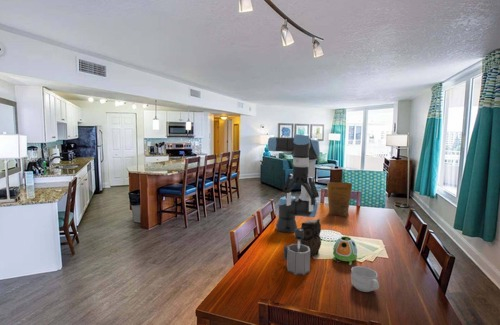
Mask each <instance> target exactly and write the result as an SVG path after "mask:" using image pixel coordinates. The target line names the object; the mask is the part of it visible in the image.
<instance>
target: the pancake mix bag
mask: <svg viewBox="0 0 500 325" xmlns="http://www.w3.org/2000/svg"><path fill="white" fill-rule="evenodd" d="M326 185H327V201H328V203H327V205H328V214H329V215H332V216H333V215H334V216H340V217H349V216H350V215H349V208H350V200H351V195H352V190H353V189H352V187H353V183H350V182H335V181H334V182H333V181H330V182H327V184H326Z"/></svg>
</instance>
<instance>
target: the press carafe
mask: <svg viewBox="0 0 500 325" xmlns="http://www.w3.org/2000/svg"><path fill="white" fill-rule="evenodd" d="M297 250H298V243H291V244H289V245H284V246H283V260H285V261H286V270H287V272H289V273H290V274H293V275H294V276H295V275H297V276H305V275H308V274H309V273H310V272H311V269H310V268H311V257H310V248H309V247H308V246H306V245H303V244H300V252H297Z"/></svg>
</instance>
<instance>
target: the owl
mask: <svg viewBox="0 0 500 325" xmlns="http://www.w3.org/2000/svg"><path fill="white" fill-rule="evenodd" d="M300 228H301V229H304V238H303V239H300V244H303V245H306V246H308V247H309V248H310V258H312V257H315V256H318V255H319V251H320V249H321V245H322V240H321V239H322V237H321V235H320V234H321V231H322V226H321V223H320V218H316V219H311V220H307V221H304V222H302V223H301V227H300Z"/></svg>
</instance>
